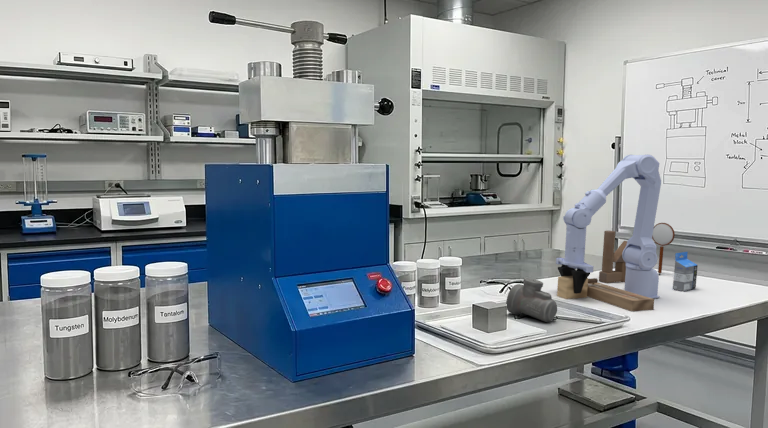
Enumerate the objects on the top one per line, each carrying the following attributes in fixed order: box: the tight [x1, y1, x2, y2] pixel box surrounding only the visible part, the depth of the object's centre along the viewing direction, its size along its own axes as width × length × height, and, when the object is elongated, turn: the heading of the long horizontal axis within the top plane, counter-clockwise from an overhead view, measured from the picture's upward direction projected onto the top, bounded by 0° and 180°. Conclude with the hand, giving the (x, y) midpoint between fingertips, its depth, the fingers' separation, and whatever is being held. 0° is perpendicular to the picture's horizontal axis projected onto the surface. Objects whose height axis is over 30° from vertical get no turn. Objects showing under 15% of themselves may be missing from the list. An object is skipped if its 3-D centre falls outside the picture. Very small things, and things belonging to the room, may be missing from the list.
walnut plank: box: [586, 281, 655, 312], centre depth 169 cm, size 8×24×3 cm, turn 21°
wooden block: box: [598, 230, 628, 284], centre depth 196 cm, size 4×11×18 cm, turn 113°
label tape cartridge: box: [672, 251, 698, 292], centre depth 187 cm, size 9×4×12 cm, turn 128°
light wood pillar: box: [556, 275, 599, 300], centre depth 172 cm, size 13×4×6 cm, turn 111°
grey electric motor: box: [505, 277, 558, 323], centre depth 146 cm, size 12×8×10 cm
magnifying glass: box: [652, 222, 676, 275], centre depth 211 cm, size 9×2×20 cm, turn 35°
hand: (572, 291), depth 172 cm, fingers closed on light wood pillar, 4 cm apart
